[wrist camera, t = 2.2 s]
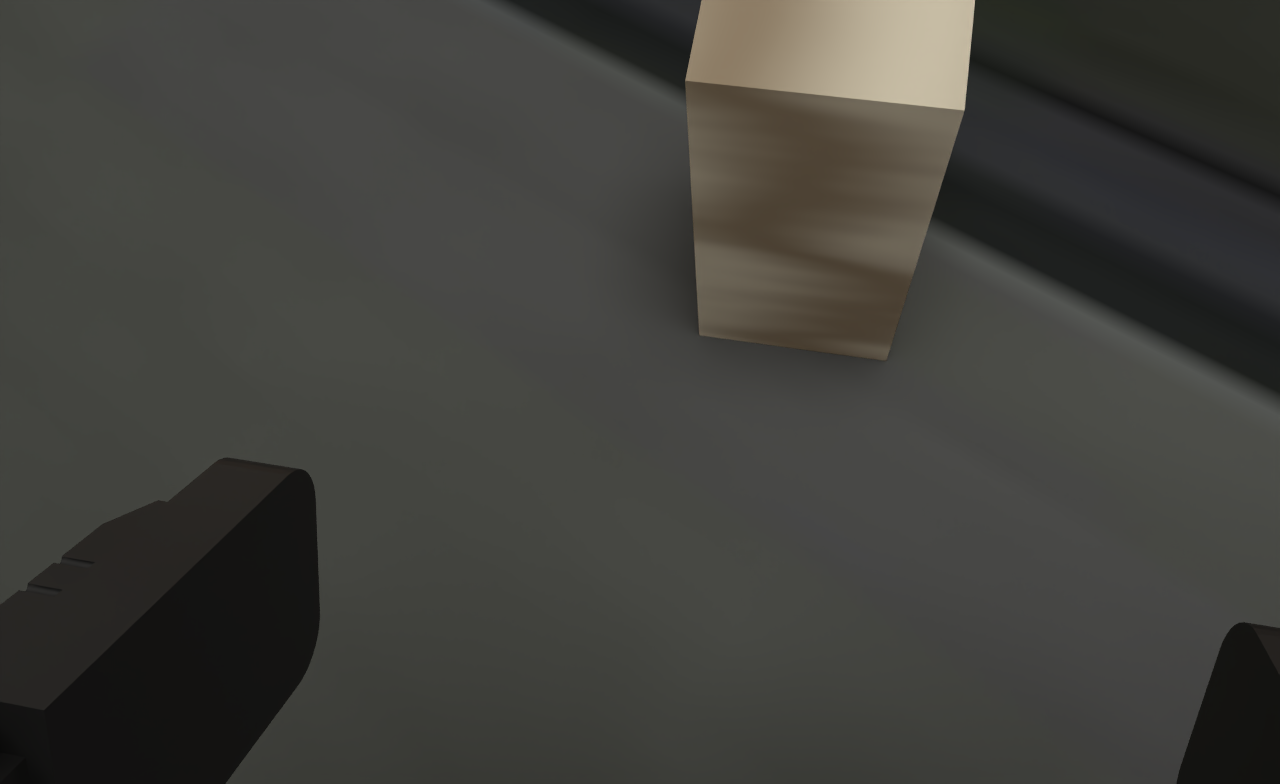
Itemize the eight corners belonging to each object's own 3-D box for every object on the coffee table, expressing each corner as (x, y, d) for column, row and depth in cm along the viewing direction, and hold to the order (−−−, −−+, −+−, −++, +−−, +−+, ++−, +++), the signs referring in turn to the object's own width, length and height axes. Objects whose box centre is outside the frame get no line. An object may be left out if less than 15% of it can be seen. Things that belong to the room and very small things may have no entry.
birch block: (904, 199, 29) (984, -104, 20) (886, 361, 28) (964, 110, 19) (727, 178, 30) (727, -125, 21) (699, 335, 28) (685, 80, 19)
